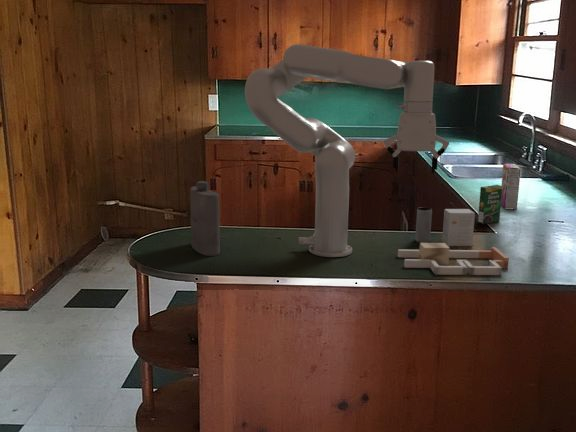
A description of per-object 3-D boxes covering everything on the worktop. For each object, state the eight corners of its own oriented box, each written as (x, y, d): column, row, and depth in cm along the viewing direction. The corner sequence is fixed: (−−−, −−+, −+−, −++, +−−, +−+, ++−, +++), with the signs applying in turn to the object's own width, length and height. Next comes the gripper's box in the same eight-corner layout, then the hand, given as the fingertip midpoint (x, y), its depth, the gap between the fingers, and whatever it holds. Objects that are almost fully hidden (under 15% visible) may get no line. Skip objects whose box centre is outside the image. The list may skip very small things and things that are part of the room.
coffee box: (482, 224, 216) (486, 187, 213) (476, 222, 218) (480, 186, 215) (499, 222, 219) (503, 185, 216) (493, 220, 222) (497, 184, 219)
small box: (466, 241, 194) (469, 208, 191) (472, 246, 188) (475, 212, 186) (441, 241, 193) (444, 208, 191) (446, 246, 188) (449, 212, 186)
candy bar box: (498, 203, 251) (502, 163, 247) (511, 203, 250) (515, 163, 246) (503, 209, 240) (507, 167, 236) (517, 209, 239) (521, 168, 235)
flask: (186, 243, 186) (185, 178, 181) (205, 241, 188) (204, 177, 184) (202, 257, 173) (201, 187, 168) (222, 255, 175) (221, 185, 171)
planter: (417, 238, 197) (420, 206, 194) (431, 240, 194) (434, 208, 192) (413, 241, 193) (415, 209, 190) (427, 243, 190) (429, 210, 188)
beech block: (423, 265, 170) (424, 247, 168) (418, 259, 174) (419, 242, 173) (448, 265, 170) (449, 248, 169) (443, 259, 175) (444, 242, 174)
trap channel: (409, 274, 161) (410, 263, 161) (397, 256, 177) (398, 246, 176) (515, 275, 162) (516, 264, 161) (494, 257, 178) (495, 247, 177)
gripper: (384, 108, 163) (381, 172, 167) (451, 109, 159) (447, 175, 163) (386, 107, 170) (383, 168, 174) (450, 107, 166) (446, 170, 170)
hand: (414, 171), depth 169 cm, fingers open, 9 cm apart
